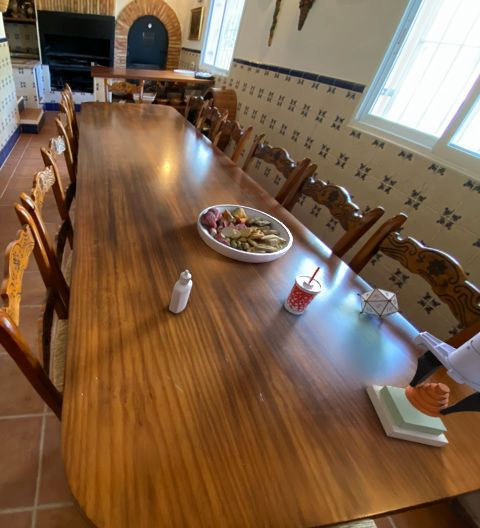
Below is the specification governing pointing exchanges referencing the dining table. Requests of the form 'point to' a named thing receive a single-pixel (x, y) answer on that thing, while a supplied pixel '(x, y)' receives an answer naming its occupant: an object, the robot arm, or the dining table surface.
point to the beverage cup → (303, 293)
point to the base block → (392, 428)
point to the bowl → (243, 233)
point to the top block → (409, 413)
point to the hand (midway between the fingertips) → (428, 397)
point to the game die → (379, 303)
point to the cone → (428, 398)
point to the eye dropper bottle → (181, 292)
